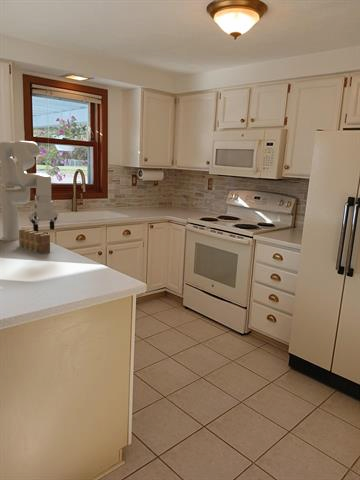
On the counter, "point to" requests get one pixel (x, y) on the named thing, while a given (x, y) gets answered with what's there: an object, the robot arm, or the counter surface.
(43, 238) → the domino
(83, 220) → the counter surface
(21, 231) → the domino
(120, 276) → the counter surface
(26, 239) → the domino
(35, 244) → the domino
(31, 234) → the domino
